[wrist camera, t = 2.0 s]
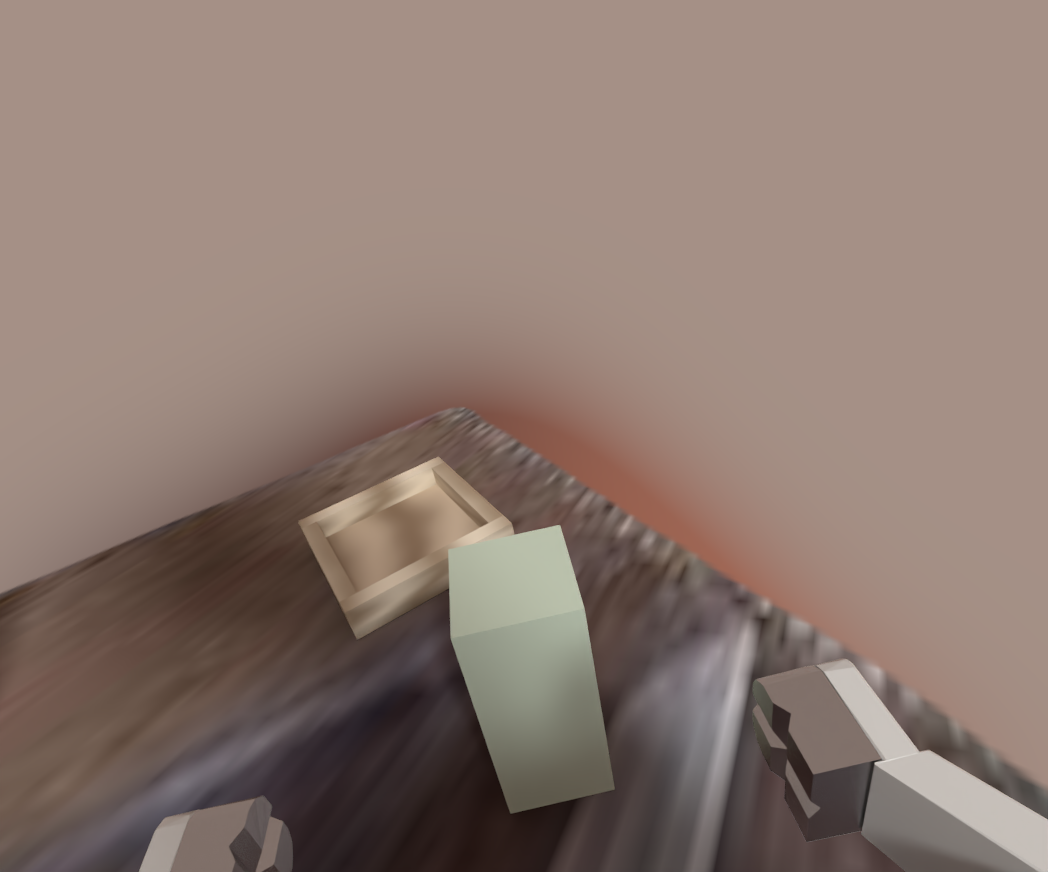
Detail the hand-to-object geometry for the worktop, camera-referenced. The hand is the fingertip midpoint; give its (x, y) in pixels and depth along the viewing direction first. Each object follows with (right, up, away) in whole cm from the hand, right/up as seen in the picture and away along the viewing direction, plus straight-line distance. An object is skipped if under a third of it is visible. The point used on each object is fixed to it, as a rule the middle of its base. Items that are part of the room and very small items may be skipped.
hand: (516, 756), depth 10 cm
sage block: (+2, -11, +20) cm, 23 cm away
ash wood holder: (-9, -3, +36) cm, 37 cm away
